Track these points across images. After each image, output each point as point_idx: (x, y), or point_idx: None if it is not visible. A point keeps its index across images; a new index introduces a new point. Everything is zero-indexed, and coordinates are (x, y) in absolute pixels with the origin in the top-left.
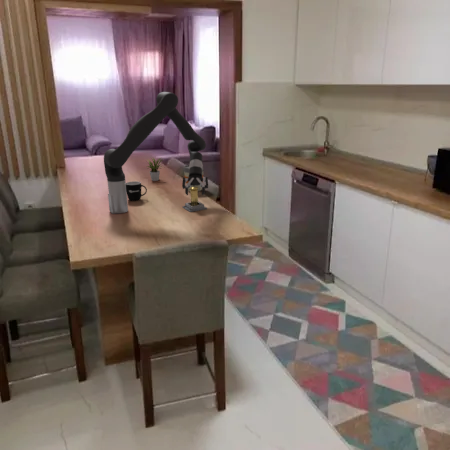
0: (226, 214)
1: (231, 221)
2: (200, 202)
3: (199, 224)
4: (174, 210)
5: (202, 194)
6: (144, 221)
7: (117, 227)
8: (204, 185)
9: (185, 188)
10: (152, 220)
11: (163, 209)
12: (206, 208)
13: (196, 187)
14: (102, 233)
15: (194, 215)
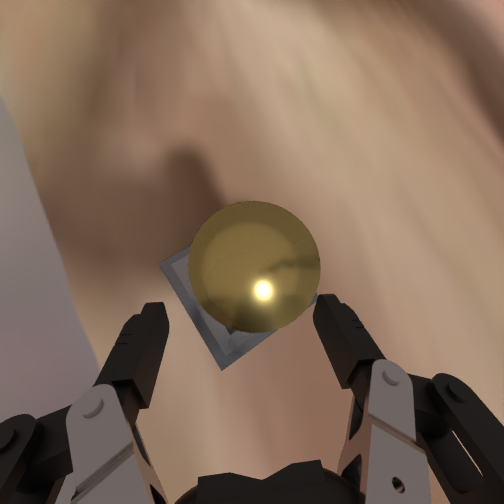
0: (47, 164)
1: (36, 64)
2: (202, 315)
3: (191, 44)
4: (347, 241)
5: (163, 315)
6: (422, 95)
7: (481, 47)
8: (67, 448)
9: (382, 355)
10: (396, 103)
11: (410, 260)
12: (164, 262)
13: (215, 272)
14: (494, 6)
15: (226, 156)
